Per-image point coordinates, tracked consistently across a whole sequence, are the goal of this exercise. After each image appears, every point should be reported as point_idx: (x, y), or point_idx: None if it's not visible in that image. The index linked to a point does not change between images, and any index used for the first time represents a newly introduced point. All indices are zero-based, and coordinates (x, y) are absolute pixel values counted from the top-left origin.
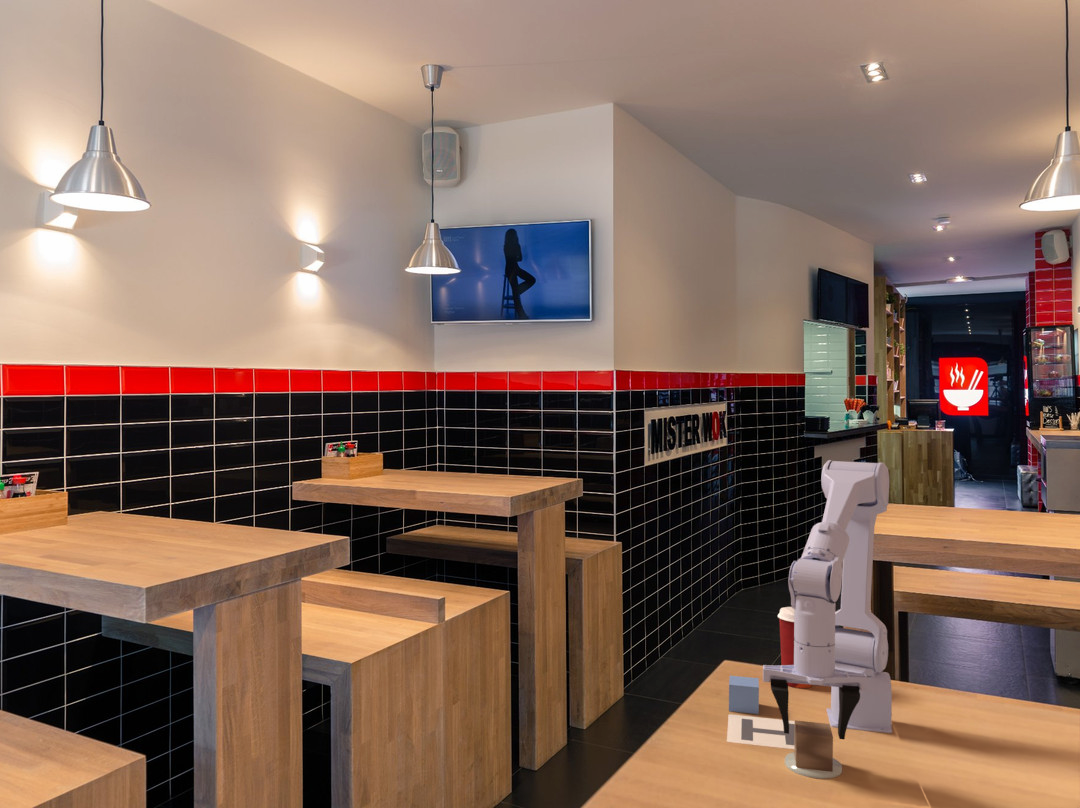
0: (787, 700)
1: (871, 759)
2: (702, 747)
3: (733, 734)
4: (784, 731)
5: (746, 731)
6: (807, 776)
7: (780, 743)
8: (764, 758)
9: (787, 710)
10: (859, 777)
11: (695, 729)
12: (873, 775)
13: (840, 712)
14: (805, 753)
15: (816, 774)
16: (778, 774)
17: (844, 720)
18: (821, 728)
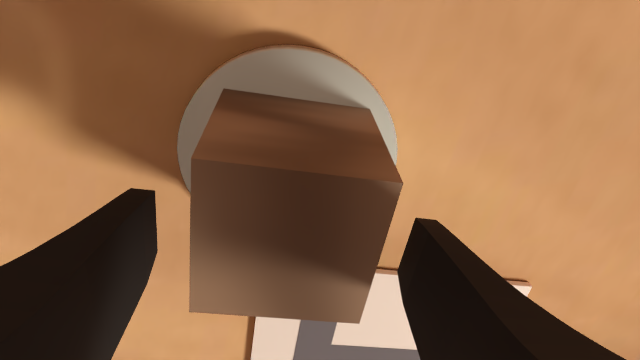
0: (544, 356)
1: None
2: (620, 249)
3: None
4: (440, 225)
5: None
6: (334, 57)
7: None
8: (444, 203)
9: (486, 300)
10: (116, 97)
11: None
12: (59, 123)
13: (93, 326)
14: (339, 130)
15: (299, 51)
16: (439, 82)
17: (74, 244)
18: (241, 258)
